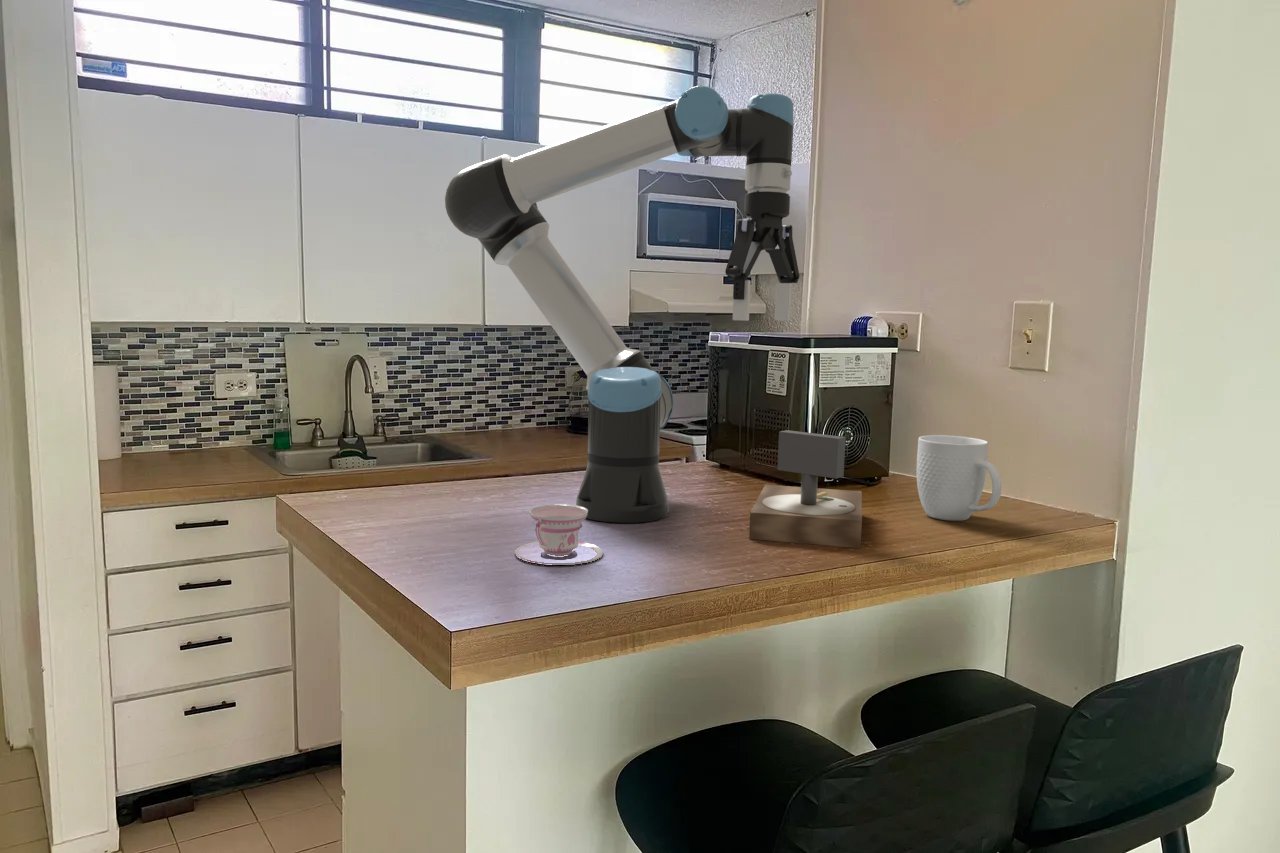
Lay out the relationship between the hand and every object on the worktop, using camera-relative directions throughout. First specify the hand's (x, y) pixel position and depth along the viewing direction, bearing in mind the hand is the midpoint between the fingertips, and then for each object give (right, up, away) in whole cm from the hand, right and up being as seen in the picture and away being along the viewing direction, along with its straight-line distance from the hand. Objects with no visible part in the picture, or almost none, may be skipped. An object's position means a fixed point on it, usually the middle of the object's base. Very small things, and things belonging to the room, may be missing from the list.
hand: (762, 320), depth 154 cm
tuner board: (+6, -34, -12) cm, 36 cm away
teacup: (-32, -36, -31) cm, 57 cm away
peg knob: (+6, -30, -13) cm, 33 cm away
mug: (+31, -33, -3) cm, 46 cm away
